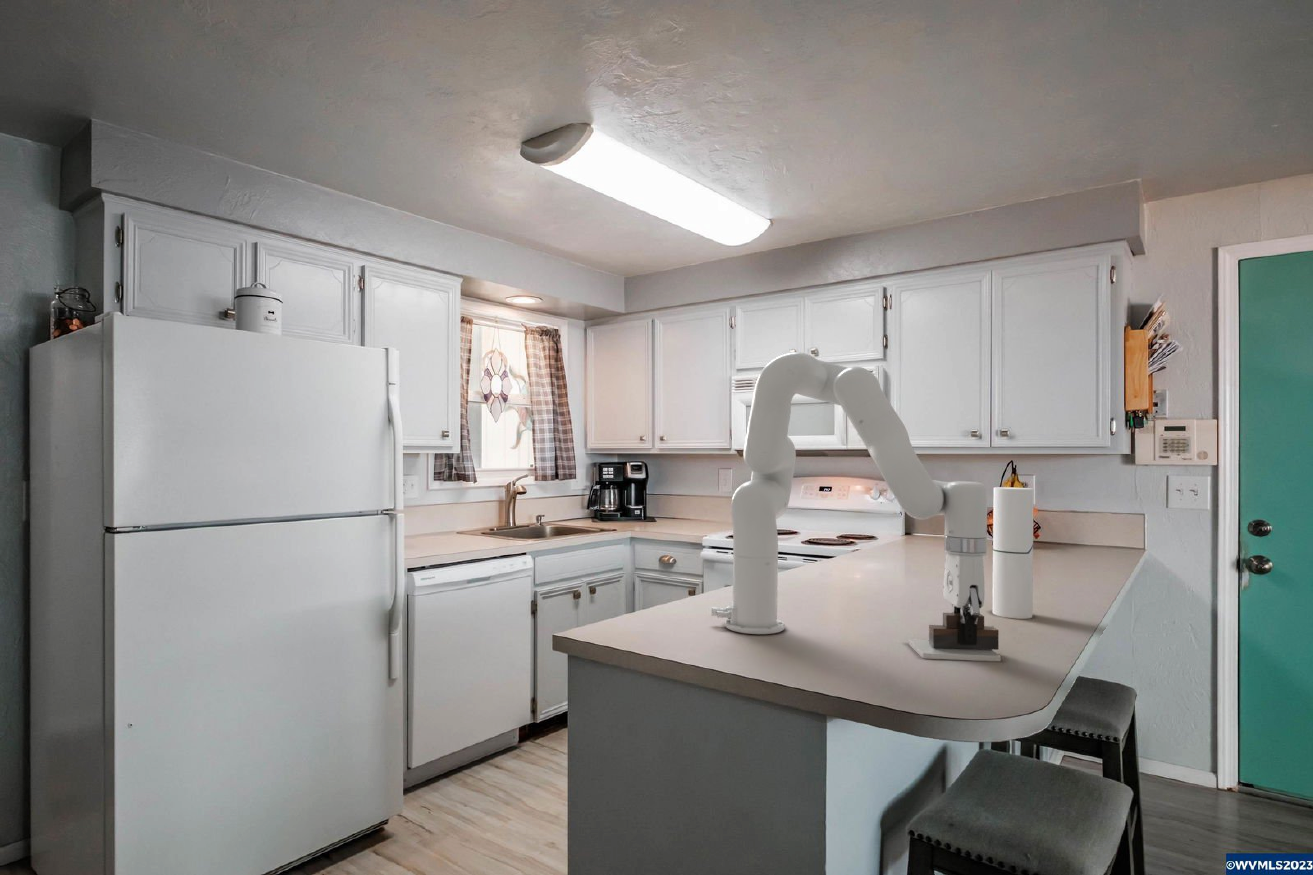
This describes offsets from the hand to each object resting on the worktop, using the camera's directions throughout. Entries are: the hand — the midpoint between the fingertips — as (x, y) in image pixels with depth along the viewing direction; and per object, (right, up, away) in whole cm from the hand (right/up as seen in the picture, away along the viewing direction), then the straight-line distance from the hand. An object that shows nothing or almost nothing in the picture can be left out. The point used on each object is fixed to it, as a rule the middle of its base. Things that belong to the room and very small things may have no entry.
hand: (964, 641), depth 142 cm
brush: (0, -1, 0) cm, 1 cm away
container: (+26, -3, +34) cm, 43 cm away
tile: (-2, -2, 0) cm, 3 cm away
